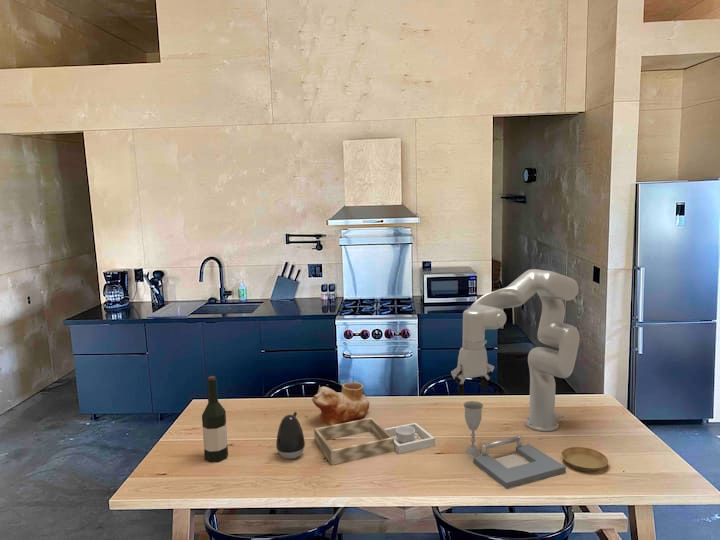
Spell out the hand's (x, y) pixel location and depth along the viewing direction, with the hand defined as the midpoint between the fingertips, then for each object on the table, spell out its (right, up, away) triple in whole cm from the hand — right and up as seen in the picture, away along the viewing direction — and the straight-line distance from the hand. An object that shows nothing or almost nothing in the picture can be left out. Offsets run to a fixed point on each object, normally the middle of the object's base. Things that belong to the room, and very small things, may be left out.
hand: (472, 391), depth 186 cm
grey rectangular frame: (+14, -24, -7) cm, 29 cm away
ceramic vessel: (-47, -20, +36) cm, 63 cm away
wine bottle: (-91, -25, +5) cm, 95 cm away
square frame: (-22, -22, +13) cm, 34 cm away
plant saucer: (+37, -24, -6) cm, 44 cm away
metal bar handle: (+10, -23, +1) cm, 25 cm away
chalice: (+1, -23, +3) cm, 23 cm away
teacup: (-22, -22, +14) cm, 34 cm away
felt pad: (+13, -23, -4) cm, 27 cm away
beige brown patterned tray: (-42, -23, +11) cm, 49 cm away
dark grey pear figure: (-65, -24, +5) cm, 69 cm away
